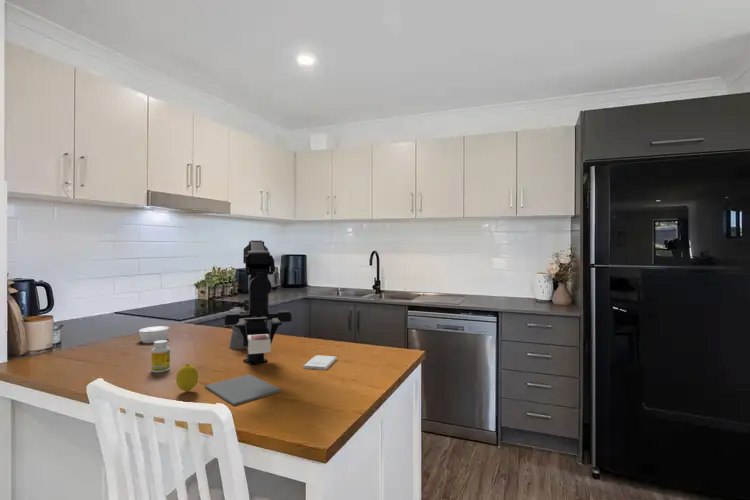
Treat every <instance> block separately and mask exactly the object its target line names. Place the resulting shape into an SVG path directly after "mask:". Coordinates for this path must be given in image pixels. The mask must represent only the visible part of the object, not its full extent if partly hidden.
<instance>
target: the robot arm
mask: <svg viewBox="0 0 750 500" xmlns="http://www.w3.org/2000/svg"><path fill="white" fill-rule="evenodd" d="M242 254H243V261H242V262H243V264H244V265H245V275H246V276H249V278H248V299H244V300H243V307H244V311H249V314H247V315H240V312H230V311H229V312H227V313H225V316H224V325H225V326H232V325H235V327H238V328H239V330H240V331H241V333H242V335H243V347H244V346H246V347H247V348H246V358H244V359H243V361H242V362H244V363H246V364H248V365H251V366H253V365H258V364H262V363H266V362H268V361H269V359H267V358H265V353H257V354H249V353H248V335H258V334H268V335H269V337H270V340H271V344H272V343H273V340H274V336H275V334H276V332H277V330H278V328H279V326H282V325H283V323H287V322H288V323H289V322H292V321H293V317H292V316H293V315H292V312H291V311H290V310H289V309H281V310H278V309H277V310H276V312H272V313H271V312H270V301H269V300H270V298H269V297H270V295H269V294H270V292H271V290H272V283H271V281H270V277H269V275H270V276H271V275H274V272H275V271H276V266H275V259H274V256H273V255H272V254H271V252H270V251H269V247H266V245H265V241H264V240H249V241H248V244H247V246H246V247H244V248H243V253H242ZM269 312H270V313H269ZM266 320H267V321H269V320H270V328H269V327H267V323H266ZM245 321H247V322H245Z"/></svg>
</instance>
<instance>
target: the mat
mask: <svg viewBox="0 0 750 500" xmlns="http://www.w3.org/2000/svg"><path fill="white" fill-rule="evenodd" d="M204 387H205V389H207V390H208V391H210V392H212V393H213V394H215V395H216V396H218V397H219V398H221V399H222V400H224V401H226V402H227V403H229V404H230V405H232V406H237V405H240V404H244V403H247V402H250V401H254V400H258V399H261V398H263V397H267V396H270V395H274V394H277V393H281V392H282V389H281V388H279V387H277V386H275V385H273V384H271V383H268V382H267V381H264V380H262V379H261V378H258V377H257V376H254V375H252V374H246V375H242V376H238V377H233V378H229V379H226V380H221V381H218V382H214V383H209V384H207V385H206V384H205V385H204Z"/></svg>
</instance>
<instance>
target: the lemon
mask: <svg viewBox="0 0 750 500" xmlns="http://www.w3.org/2000/svg"><path fill="white" fill-rule="evenodd" d="M175 381H176V385H177V387H178V388H179V389H180V390H182V391H184V392H186V393H189V392H190V391H191V390H193V389H194V388H195V387H196V386H197V384H198V381H199V373H198V370H197V368H196V366H194V365H192V364H189V363H186V364H185V365H183V366H181V367H180V368H179V369H178V371H177V374H176V380H175Z"/></svg>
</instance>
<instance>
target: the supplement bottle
mask: <svg viewBox="0 0 750 500" xmlns="http://www.w3.org/2000/svg"><path fill="white" fill-rule="evenodd" d="M168 343H169V342H168V340H167V339H166V340H159V341H155V342H154V343H153V348H152V349H151V354H150V355H151V365H150V366H151V368H150V370H151V372H152V373H159V374H160V373H164V372H165V373H166V372H167V371H169V370H170V368H171V349H170V347H169V346H168Z"/></svg>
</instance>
